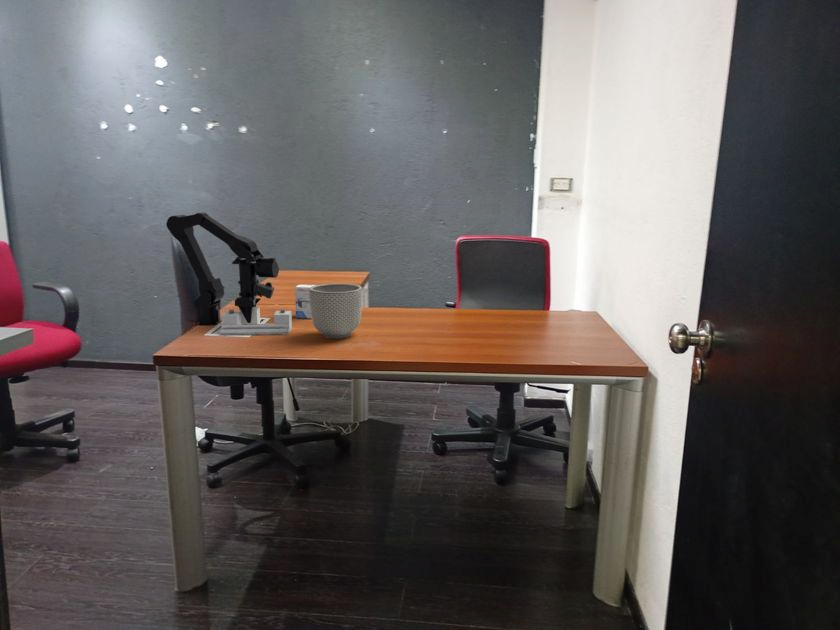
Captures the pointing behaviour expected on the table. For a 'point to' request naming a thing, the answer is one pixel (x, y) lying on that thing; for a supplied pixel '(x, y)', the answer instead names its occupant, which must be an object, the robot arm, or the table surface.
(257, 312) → the module
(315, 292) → the planter
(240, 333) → the rail
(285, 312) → the block
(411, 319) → the table surface
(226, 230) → the robot arm
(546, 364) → the table surface
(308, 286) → the ink box
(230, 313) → the block
